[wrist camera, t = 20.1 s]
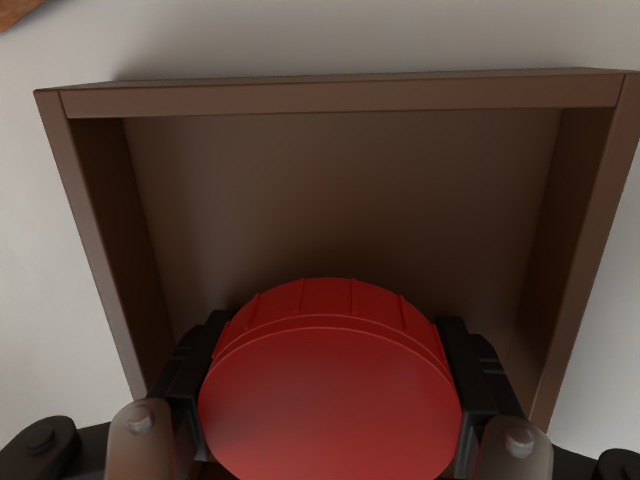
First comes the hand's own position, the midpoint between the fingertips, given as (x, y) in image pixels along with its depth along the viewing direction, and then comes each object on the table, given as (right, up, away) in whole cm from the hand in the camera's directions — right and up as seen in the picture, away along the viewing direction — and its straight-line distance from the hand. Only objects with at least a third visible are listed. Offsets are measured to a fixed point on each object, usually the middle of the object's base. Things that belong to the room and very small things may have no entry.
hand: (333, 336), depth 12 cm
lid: (0, -1, -3) cm, 3 cm away
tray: (0, 0, +1) cm, 1 cm away
